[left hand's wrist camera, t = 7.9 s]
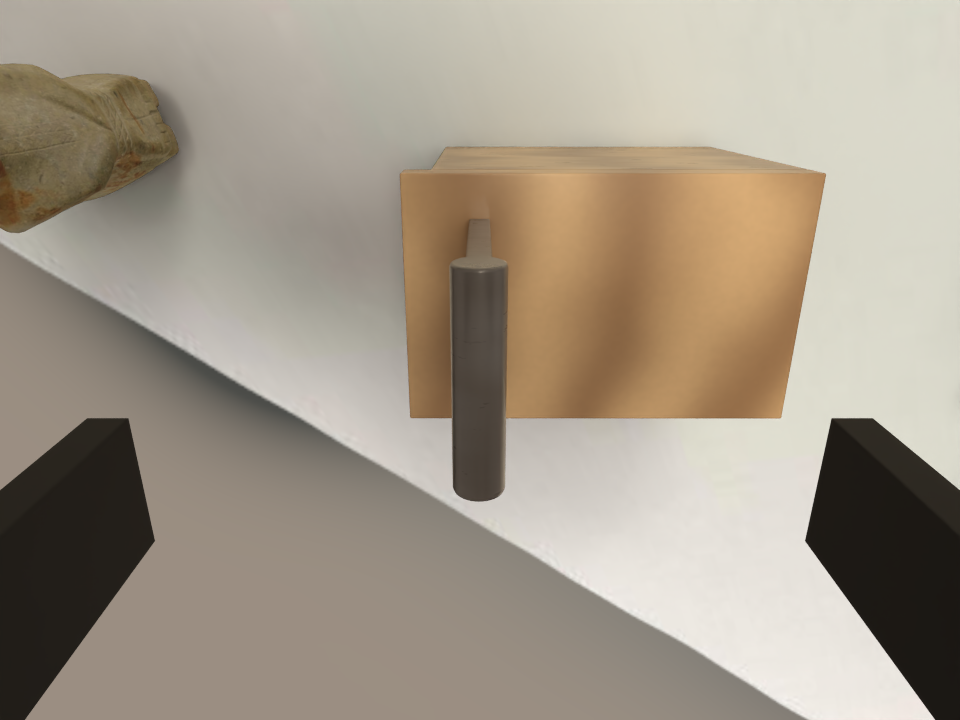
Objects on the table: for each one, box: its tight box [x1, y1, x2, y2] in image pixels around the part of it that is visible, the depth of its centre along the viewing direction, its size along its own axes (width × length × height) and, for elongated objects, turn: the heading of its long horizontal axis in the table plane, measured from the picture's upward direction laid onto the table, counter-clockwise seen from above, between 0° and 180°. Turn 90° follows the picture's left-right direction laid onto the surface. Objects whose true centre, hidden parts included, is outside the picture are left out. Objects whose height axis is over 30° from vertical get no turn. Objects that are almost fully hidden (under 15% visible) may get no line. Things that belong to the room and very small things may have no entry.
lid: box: [400, 170, 826, 501], centre depth 21 cm, size 14×9×9 cm, turn 90°
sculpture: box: [0, 64, 179, 233], centre depth 25 cm, size 6×7×15 cm
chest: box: [431, 147, 807, 170], centre depth 30 cm, size 13×9×10 cm
